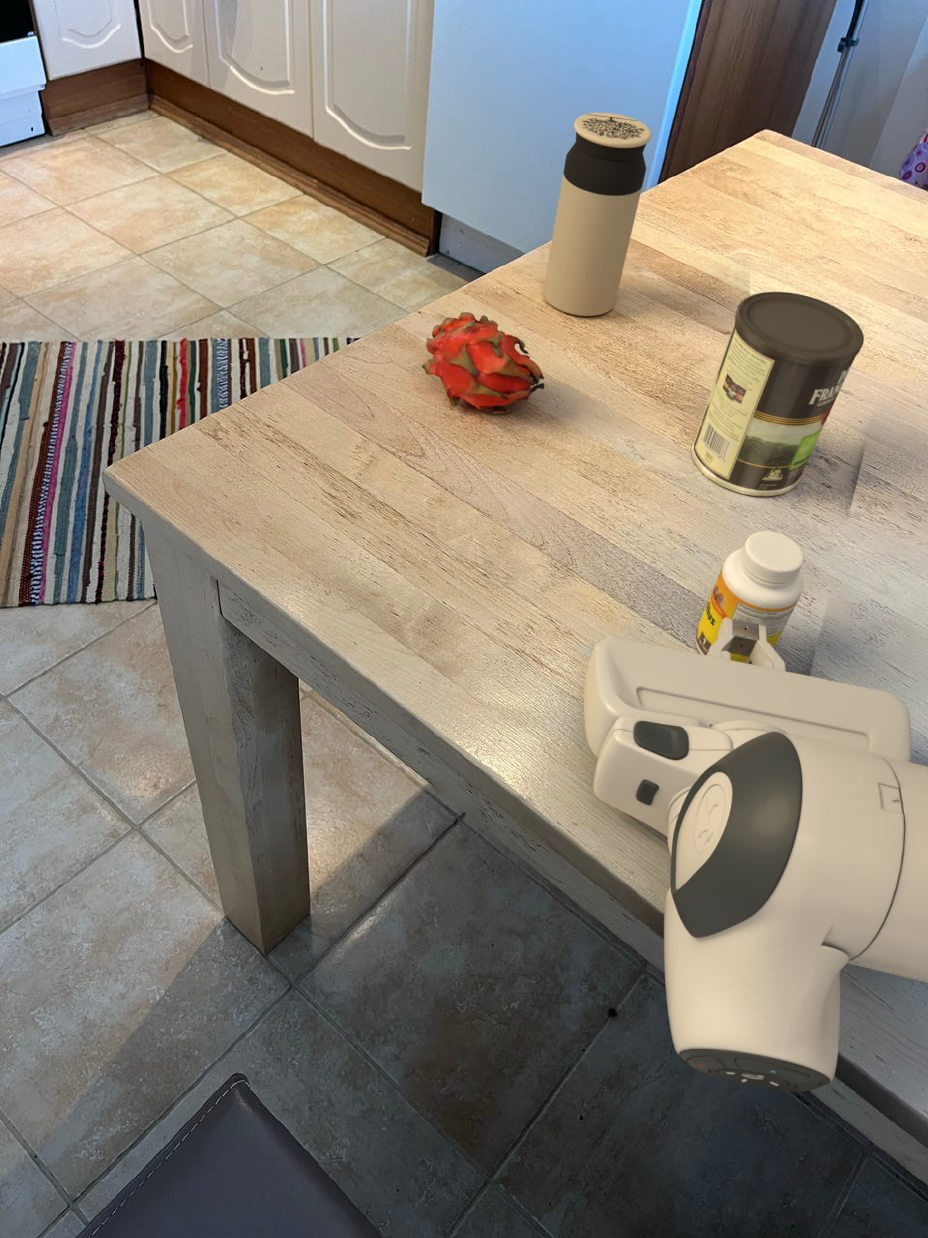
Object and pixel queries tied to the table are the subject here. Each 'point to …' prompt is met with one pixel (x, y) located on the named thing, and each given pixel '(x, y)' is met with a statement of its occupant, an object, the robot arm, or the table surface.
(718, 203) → the table surface
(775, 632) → the supplement bottle
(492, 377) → the dragon fruit
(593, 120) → the travel mug
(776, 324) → the coffee can
